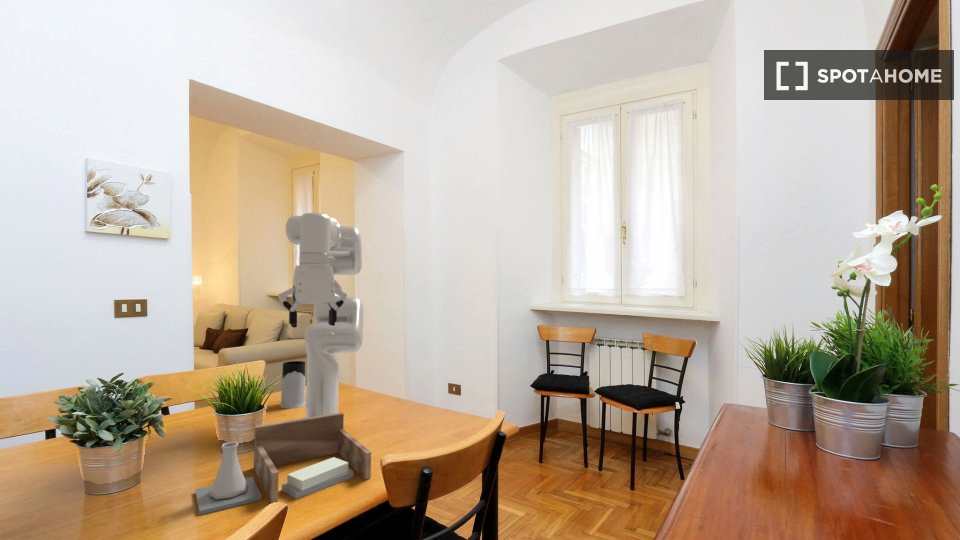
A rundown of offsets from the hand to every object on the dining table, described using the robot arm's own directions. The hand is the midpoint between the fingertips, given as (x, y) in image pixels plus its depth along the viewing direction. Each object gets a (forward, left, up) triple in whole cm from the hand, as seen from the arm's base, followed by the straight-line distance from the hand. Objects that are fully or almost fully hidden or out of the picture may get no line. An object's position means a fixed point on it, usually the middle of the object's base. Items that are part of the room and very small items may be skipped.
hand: (313, 326), depth 120 cm
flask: (+14, -20, -33) cm, 41 cm away
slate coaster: (+14, -20, -33) cm, 42 cm away
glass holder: (-53, +8, -34) cm, 63 cm away
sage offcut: (+18, -3, -32) cm, 37 cm away
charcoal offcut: (+18, -3, -34) cm, 39 cm away
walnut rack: (+12, -3, -33) cm, 36 cm away
